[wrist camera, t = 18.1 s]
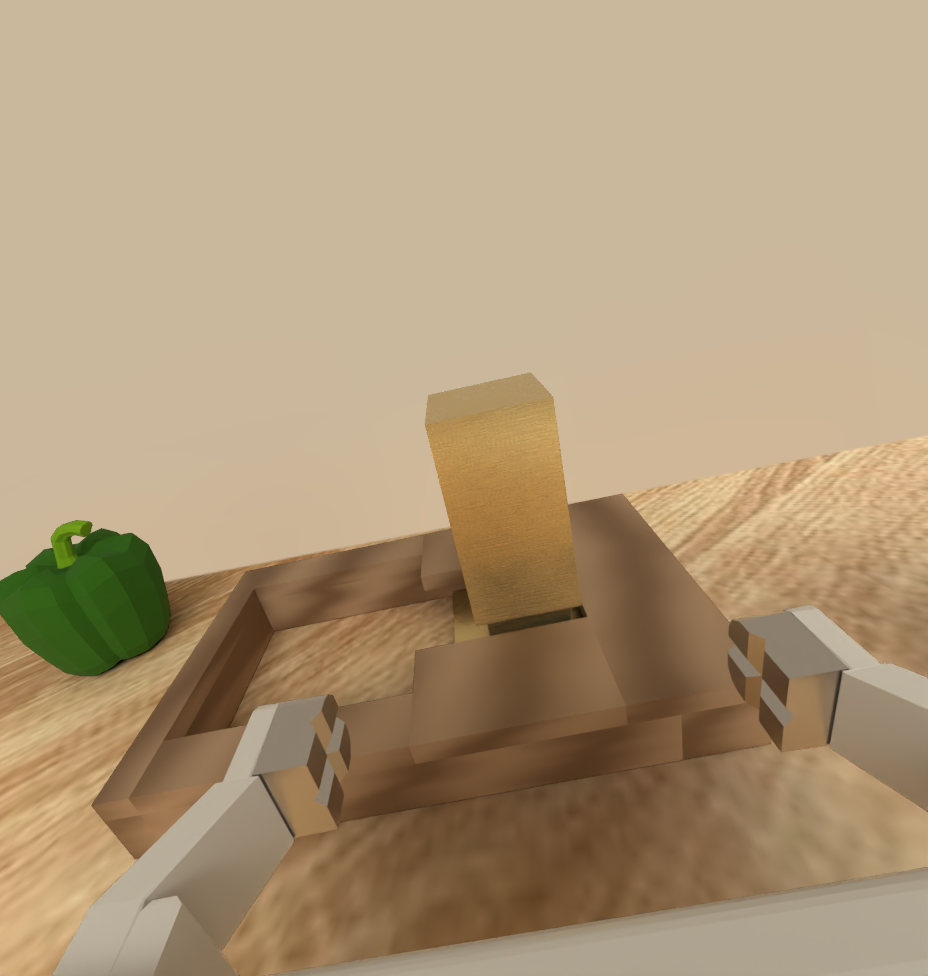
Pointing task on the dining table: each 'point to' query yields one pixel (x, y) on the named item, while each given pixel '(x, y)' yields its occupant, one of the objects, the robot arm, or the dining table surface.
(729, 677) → the walnut keyhole plate
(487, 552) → the brass peg
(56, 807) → the dining table surface
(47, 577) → the bell pepper
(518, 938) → the robot arm
